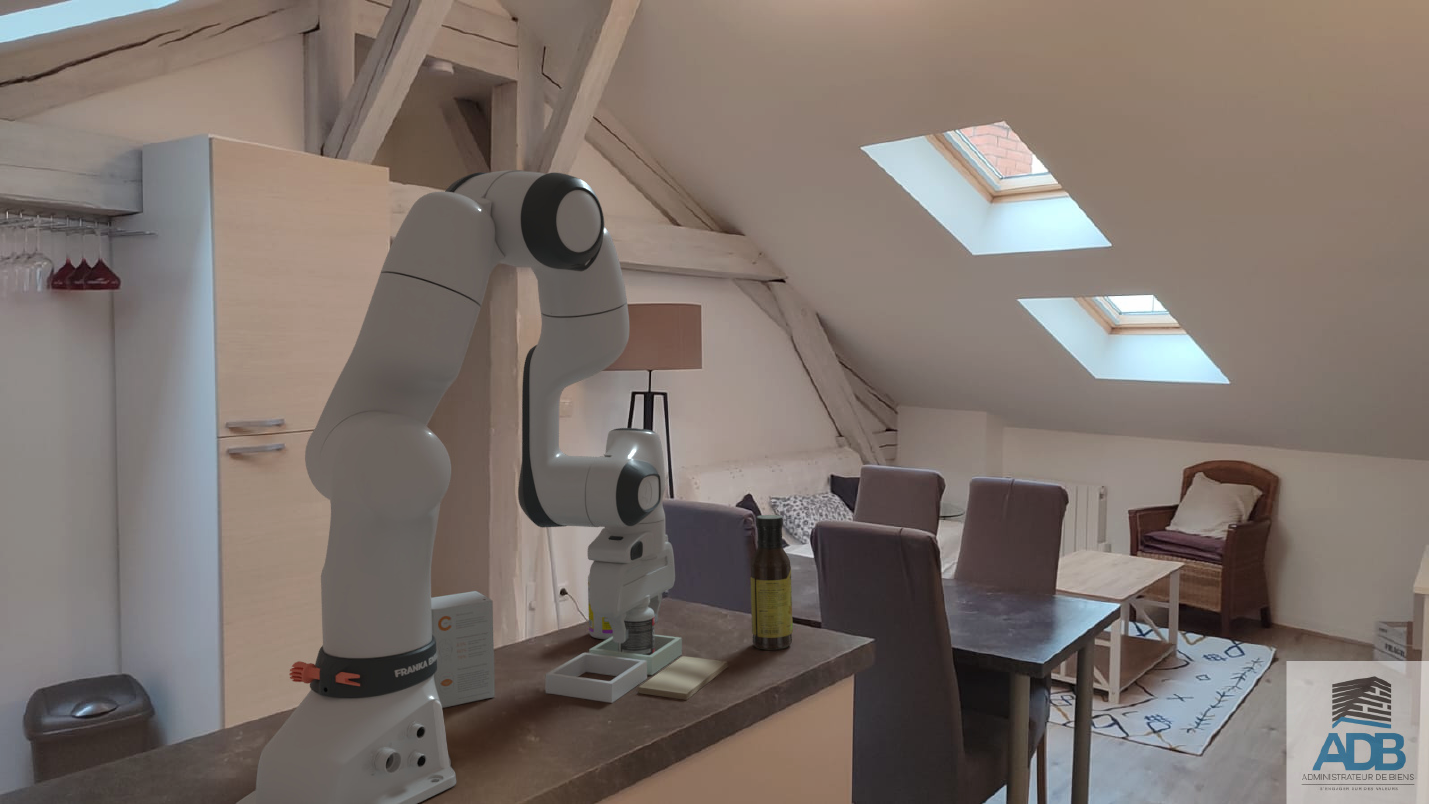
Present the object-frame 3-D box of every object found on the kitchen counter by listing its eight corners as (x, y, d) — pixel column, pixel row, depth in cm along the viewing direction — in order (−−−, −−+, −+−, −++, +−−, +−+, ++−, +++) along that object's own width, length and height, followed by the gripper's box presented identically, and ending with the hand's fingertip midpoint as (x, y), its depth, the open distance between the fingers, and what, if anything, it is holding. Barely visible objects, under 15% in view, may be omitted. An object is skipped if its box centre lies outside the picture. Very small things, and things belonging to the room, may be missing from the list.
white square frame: (612, 702, 124) (611, 683, 124) (545, 692, 128) (545, 674, 128) (647, 678, 134) (647, 660, 133) (584, 669, 137) (583, 652, 137)
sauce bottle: (800, 646, 147) (800, 517, 146) (768, 654, 144) (768, 521, 143) (774, 636, 153) (773, 511, 152) (742, 644, 149) (741, 515, 148)
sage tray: (652, 675, 135) (651, 657, 135) (589, 666, 139) (589, 649, 139) (682, 654, 144) (681, 637, 144) (622, 646, 148) (622, 630, 148)
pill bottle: (661, 662, 141) (661, 595, 140) (629, 669, 138) (628, 601, 137) (643, 652, 145) (642, 588, 145) (611, 659, 142) (610, 593, 142)
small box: (479, 684, 132) (477, 589, 131) (495, 698, 127) (493, 599, 126) (419, 696, 127) (417, 598, 127) (434, 711, 122) (431, 609, 121)
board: (686, 699, 125) (686, 693, 125) (638, 692, 128) (638, 687, 128) (727, 667, 138) (727, 661, 138) (682, 661, 141) (682, 656, 141)
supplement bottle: (639, 632, 156) (638, 553, 155) (613, 643, 150) (612, 561, 149) (606, 626, 159) (605, 549, 158) (580, 636, 154) (578, 556, 153)
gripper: (648, 525, 151) (648, 612, 152) (580, 550, 132) (582, 649, 133) (684, 528, 149) (685, 616, 150) (621, 553, 130) (622, 655, 131)
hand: (636, 632), depth 141 cm, fingers open, 8 cm apart
